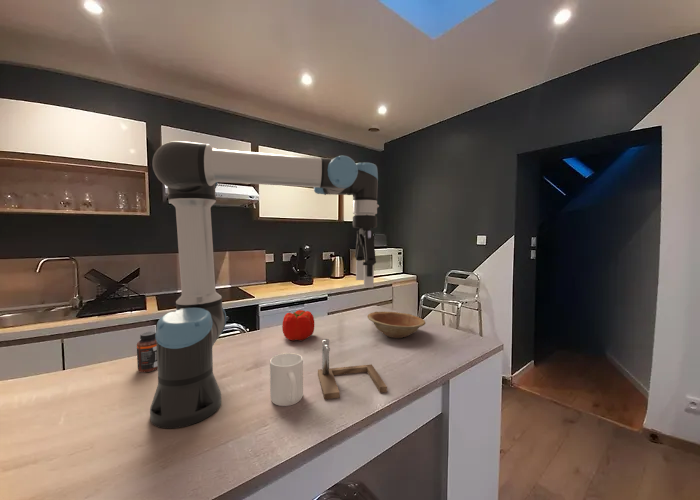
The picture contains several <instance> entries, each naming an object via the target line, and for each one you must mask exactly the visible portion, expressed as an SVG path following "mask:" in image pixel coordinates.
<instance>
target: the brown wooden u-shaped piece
mask: <svg viewBox="0 0 700 500" xmlns="http://www.w3.org/2000/svg"><path fill="white" fill-rule="evenodd" d="M358 373H359V374H360V373H367V374H368V376H369V378H370V379H371V381H372V383H373V384H374V386H375V387H376V389H377V391H378V392H379V394H382V393H387V392H388V386H387V385H386V383H385V381H384V380H383V379H382V377H381V375H380V374H379V373H378V371H377V370H376V368H375V367H374V365H373V364H372V363H371V364H362V365H352V366H351V365H350V366H342V367H331V368H330V367H329V374H328V375H323V374H322V368H321V369H317V377H318V380H319V385H320V388H321V389H320V390H321V393H322V396H323V399H324V400H332V399H338V398H339V399H340V390H339V387H338V384H337V382H336V379H335V376H340V375H347V374H348V375H350V374H358Z"/></svg>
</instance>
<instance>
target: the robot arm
mask: <svg viewBox="0 0 700 500" xmlns="http://www.w3.org/2000/svg"><path fill="white" fill-rule="evenodd" d="M152 170H153V172H154V174H155V176H156V178H157V179H158V181H160V182H161V183H162V185H164V186H166V187H167V198H168V202H169V204H171V205H173V206H174V208H175V217H176V218H175V219H176V230H177V232H176V234H177V247H178V261H179V263H178V264H179V276H180V288H181V289H180V290H181V295H180V296H179V297H178V298H177V299H176V301H175V307H176V308H175V310H174V311H169V312H167V313H166V314H164V315H163V316H161V317H160V318H159V319H158V321H157V322H156V329H155V333H156V335H155V337H156V345H157V367H158V369H157V386H156V389H155V392H154V396H153V399H152V402H151V405H150V409H149V416H150V417H149V418H150V422H151V424H152V425H153V426H155V427H158V428H163V429H177V428H178V429H180V428H185V427H189V426H192V425H195V424H197V423H200V422H201V421H204V420H206V419H208V418H209V417H211V416H213V414H215V413H216V412H217V411H218V410H219V409H220V407H221V404H222V392H221V389H220V387H219V385H218V382H217V379H216V377H215V374H214V368H213V367H214V366H213V365H214V364H213V363H214V361H213V357H214V356H213V347H214V345H215V344H216V342H217V341H218V339H219V337H220V336H221V335H222V334H223V332H224V330H225V328H226V324H227V314H226V311H225V309H224V306H223V297H222V295H221V294H219V292H217V290H216V278H215V261H214V258H215V257H214V244H213V228H212V212H211V211H212V210H211V208H212V207H213V205H215V203H217V200H216V197H217V196H216V188H217V186H218V183H231V184H246V185H247V184H248V185H267V186H269V185H270V186H287V187H303V188H304V187H305V188H313V191H314V193H315V194H316V195H324V196H326V195H329V196H331V195H335V196H336V195H338V196H339V195H340V196H343V195H345V196H352V214H353V216H352V228H354V229H359V230H357V231H356V240H355V241H356V242H355V244H356V245H355V253H354V257H355V281H363V288H365V289H367V288H368V289H370V288H371V289H373V288H374V285H375V284H374V281H375V280H374V277H375V276H374V274H375V272H374V271H375V264H376V263H377V260H376V249H375V240H374V237H375V236H374V235H375V234H374V233H375V232H374V230H371V229H376V228H377V227H378V216H377V214H378V208H379V207H380V205H379V204H378V190H379V189H378V188H379V187H378V185H379V183H378V181H379V173H378V172H379V171H378V166H377V164H374V163H372V162H355V160H354V159H353V158H351V157H350V156H348V155H342V154H341V155H338V156H335V157H333V158H332V157H331V158H330V157H316V156H303V155H293V154H279V153H269V152H257V151H256V152H255V151H244V150H243V151H241V150H232V149H231V150H230V149H220V148H218V149H217V148H215V147H214V146H212V145H211V144H210V143H201V142H193V141H192V142H191V141H181V140H173V141H170V142H169V141H168V142H166V143H163V144H161V146H159V147H158V148H157V149H156V151H155V152H154V154H153V157H152Z"/></svg>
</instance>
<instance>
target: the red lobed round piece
mask: <svg viewBox="0 0 700 500" xmlns="http://www.w3.org/2000/svg"><path fill="white" fill-rule="evenodd" d="M281 326H282V332H283V336H284V337H285V338H286V339H288V340H289V341H293V342H294V341H304V340H307V339H308V338H309V337H311V336H313V334H314V332H315V318H314V315H313V313H312V312H311V311H308V310H302V309H298V310H296V311H292V312H288V313H285V315H284V316H283V319H282V325H281Z"/></svg>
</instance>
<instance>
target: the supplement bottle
mask: <svg viewBox="0 0 700 500" xmlns="http://www.w3.org/2000/svg"><path fill="white" fill-rule="evenodd" d="M155 335H156V331H146V332H145V331H144V332H142V333H141V334H140V335H139V339H140V340H138V341H137V342H136V343H137V344H136V357H137V358H136V360H137V371H138V372H139V373H149V372H153V371H156V370H158V367H157V345H156V337H155Z"/></svg>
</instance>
